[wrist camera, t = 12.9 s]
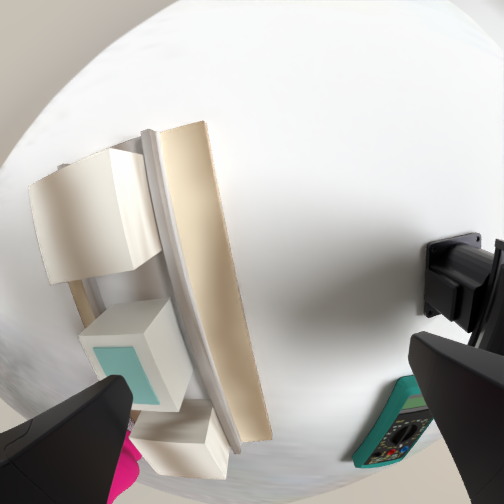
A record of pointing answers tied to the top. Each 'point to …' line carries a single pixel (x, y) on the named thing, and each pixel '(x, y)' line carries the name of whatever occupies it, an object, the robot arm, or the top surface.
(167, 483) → the top surface
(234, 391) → the rail panel
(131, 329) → the block
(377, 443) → the digital multimeter
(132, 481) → the pepper mill
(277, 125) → the top surface
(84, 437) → the robot arm
